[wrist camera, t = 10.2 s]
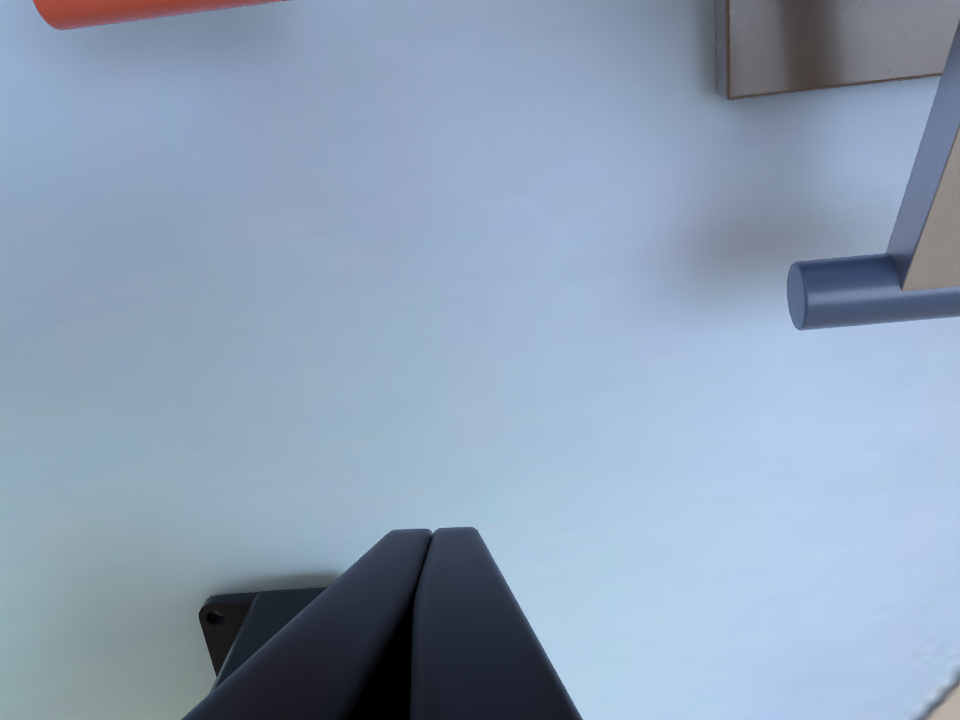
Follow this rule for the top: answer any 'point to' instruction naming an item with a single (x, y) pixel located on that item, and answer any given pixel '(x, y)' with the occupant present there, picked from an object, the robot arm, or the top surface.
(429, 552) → the robot arm
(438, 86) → the top surface
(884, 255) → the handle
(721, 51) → the front lever stand
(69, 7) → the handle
